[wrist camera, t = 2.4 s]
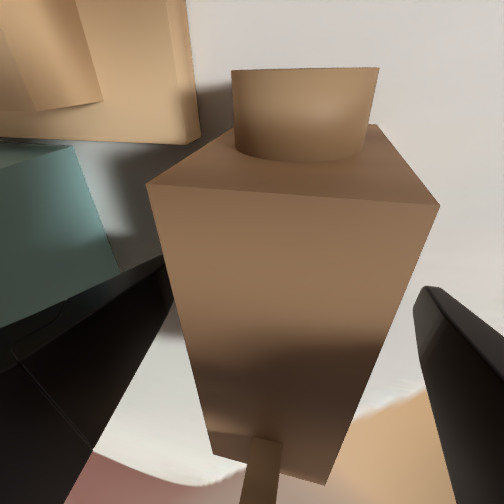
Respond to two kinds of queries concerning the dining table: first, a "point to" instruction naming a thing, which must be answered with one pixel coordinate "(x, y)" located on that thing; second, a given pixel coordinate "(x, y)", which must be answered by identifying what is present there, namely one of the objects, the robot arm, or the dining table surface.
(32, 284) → the teal block
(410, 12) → the dining table surface
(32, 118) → the jig
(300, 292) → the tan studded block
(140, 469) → the dining table surface
